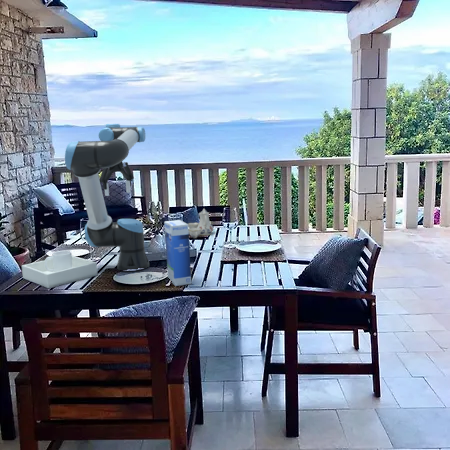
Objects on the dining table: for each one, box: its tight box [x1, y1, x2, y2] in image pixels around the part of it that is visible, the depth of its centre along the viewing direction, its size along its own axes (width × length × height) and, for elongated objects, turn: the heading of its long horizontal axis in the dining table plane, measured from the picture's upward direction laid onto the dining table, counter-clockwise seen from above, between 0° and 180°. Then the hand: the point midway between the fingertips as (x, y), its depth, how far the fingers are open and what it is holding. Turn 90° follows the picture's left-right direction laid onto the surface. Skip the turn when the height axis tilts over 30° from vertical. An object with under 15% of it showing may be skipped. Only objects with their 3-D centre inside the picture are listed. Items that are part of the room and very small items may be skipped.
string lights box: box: [164, 219, 192, 287], centre depth 211 cm, size 13×8×26 cm, turn 21°
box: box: [21, 255, 98, 289], centre depth 226 cm, size 24×24×6 cm
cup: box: [44, 250, 73, 272], centre depth 225 cm, size 8×12×10 cm
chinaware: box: [187, 208, 214, 239], centre depth 307 cm, size 28×17×17 cm, turn 10°
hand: (118, 194), depth 262 cm, fingers open, 13 cm apart
